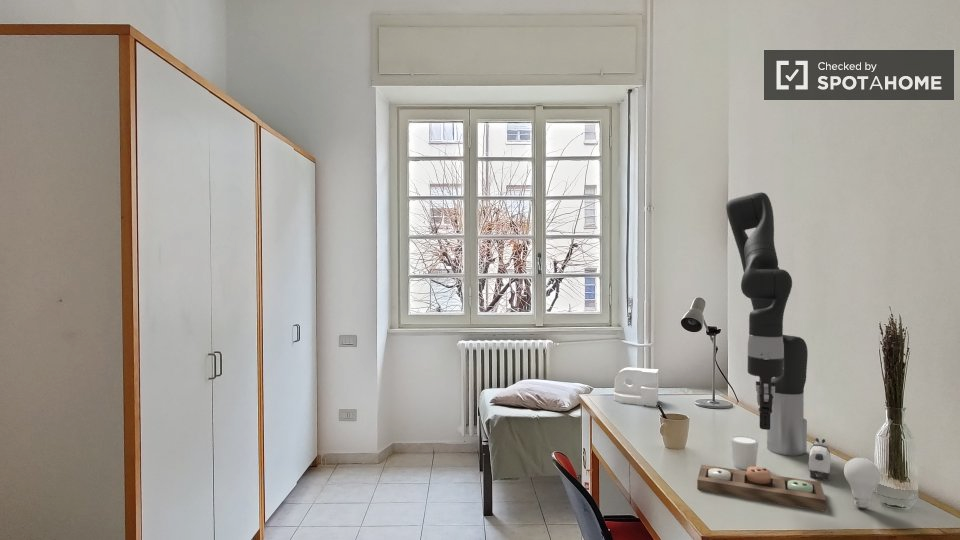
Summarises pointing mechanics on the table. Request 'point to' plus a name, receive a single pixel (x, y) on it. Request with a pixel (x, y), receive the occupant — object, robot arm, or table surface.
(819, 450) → the giant panda
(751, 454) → the white tapered cylinder
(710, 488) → the button board
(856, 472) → the light bulb
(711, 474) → the button one
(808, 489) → the button two
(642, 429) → the table surface
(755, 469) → the button three
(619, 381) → the tape dispenser
